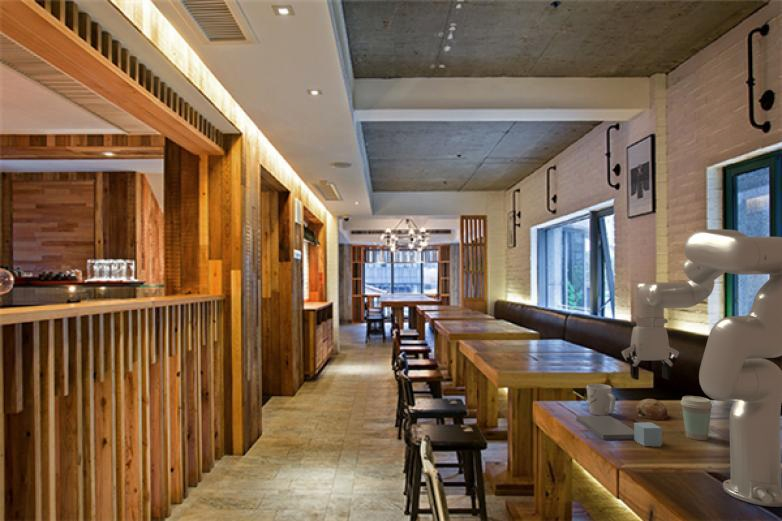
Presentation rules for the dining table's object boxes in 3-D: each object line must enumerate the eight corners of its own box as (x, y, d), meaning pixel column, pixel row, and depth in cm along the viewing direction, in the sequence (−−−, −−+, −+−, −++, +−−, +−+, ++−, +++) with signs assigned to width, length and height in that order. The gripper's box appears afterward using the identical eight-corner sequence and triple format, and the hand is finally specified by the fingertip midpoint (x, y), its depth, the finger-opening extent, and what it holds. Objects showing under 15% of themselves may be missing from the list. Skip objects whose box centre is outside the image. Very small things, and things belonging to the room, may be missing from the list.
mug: (623, 417, 177) (623, 389, 177) (605, 420, 173) (605, 391, 174) (599, 409, 187) (599, 382, 187) (581, 411, 184) (581, 384, 184)
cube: (662, 446, 147) (661, 427, 147) (644, 446, 147) (643, 428, 147) (651, 440, 153) (651, 422, 153) (634, 440, 153) (633, 422, 153)
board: (641, 439, 153) (641, 434, 154) (603, 439, 153) (603, 434, 153) (610, 420, 173) (610, 415, 174) (576, 420, 173) (576, 416, 173)
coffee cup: (718, 442, 150) (717, 403, 151) (687, 440, 152) (686, 401, 152) (706, 433, 159) (705, 396, 159) (676, 432, 160) (676, 394, 161)
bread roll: (634, 423, 182) (627, 404, 180) (651, 408, 186) (644, 390, 184) (658, 431, 173) (651, 411, 171) (676, 415, 177) (669, 396, 175)
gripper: (670, 321, 156) (671, 376, 155) (616, 321, 155) (616, 376, 155) (685, 323, 148) (686, 381, 148) (628, 324, 148) (629, 381, 147)
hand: (650, 378), depth 151 cm, fingers open, 9 cm apart
